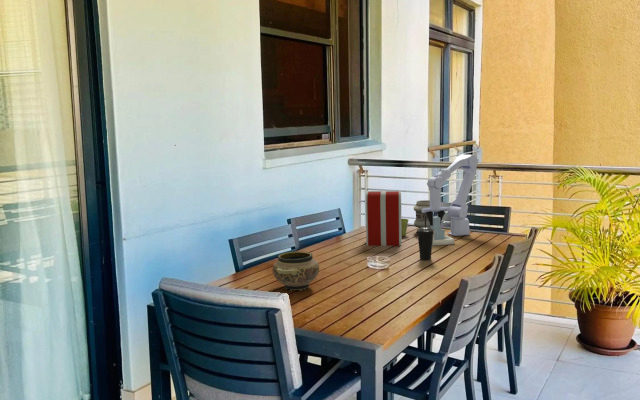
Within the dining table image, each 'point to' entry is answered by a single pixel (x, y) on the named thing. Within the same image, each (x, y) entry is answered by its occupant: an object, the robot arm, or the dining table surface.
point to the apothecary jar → (421, 214)
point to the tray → (443, 241)
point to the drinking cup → (425, 242)
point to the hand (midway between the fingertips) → (435, 225)
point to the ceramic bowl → (296, 270)
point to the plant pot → (404, 226)
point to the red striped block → (383, 218)
